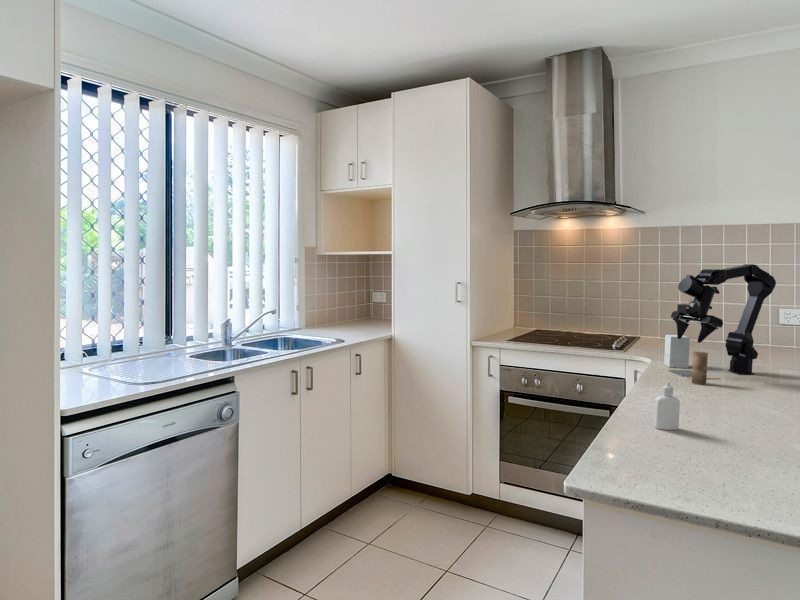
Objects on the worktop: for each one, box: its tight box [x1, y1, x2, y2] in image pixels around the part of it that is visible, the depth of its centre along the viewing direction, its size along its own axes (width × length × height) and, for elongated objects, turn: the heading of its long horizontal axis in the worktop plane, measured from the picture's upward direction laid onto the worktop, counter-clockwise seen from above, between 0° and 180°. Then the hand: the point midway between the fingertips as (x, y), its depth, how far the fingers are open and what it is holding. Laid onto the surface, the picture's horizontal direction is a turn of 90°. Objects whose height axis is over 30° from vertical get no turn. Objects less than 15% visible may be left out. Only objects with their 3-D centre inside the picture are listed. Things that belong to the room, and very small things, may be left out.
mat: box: [668, 369, 692, 377], centre depth 199 cm, size 8×10×1 cm
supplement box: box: [663, 334, 691, 369], centre depth 214 cm, size 7×7×13 cm
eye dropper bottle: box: [653, 381, 680, 431], centre depth 132 cm, size 4×6×12 cm
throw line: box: [685, 377, 721, 380], centre depth 191 cm, size 12×1×1 cm, turn 90°
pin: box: [691, 351, 709, 386], centre depth 183 cm, size 4×4×11 cm
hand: (688, 340), depth 194 cm, fingers open, 9 cm apart
